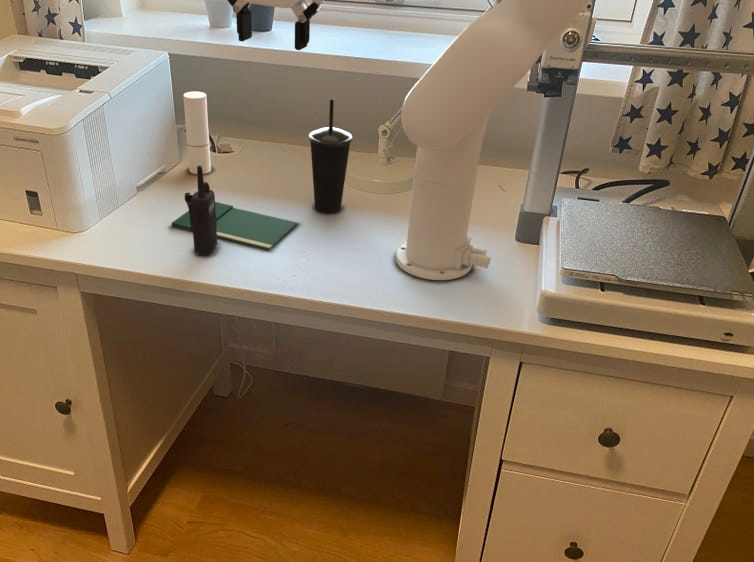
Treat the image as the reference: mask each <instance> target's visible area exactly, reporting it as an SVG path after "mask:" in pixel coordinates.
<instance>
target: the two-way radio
mask: <svg viewBox="0 0 754 562" xmlns="http://www.w3.org/2000/svg"><path fill="white" fill-rule="evenodd" d="M196 175H197V178H196V179H197V191H196V192H194V193H193V194H191V192H185V193H184V201H185V203H186V205H187V208H188V211H189V214H190V224H191V230H192V231H193V232H192V236H193V237H192V238H193V239H192V240H193V249H194V250H193V251H194V252H195V253H196V254H197V255H201V256H209V255H211V254H212V253H213V252H214V251H215V249H216V247H217V245H218V238H217V222H216V210H215V202H216V195H215V192H214V190H212V189H211V188H210V183H209V182H207V181H204V174H203V171H202V166H198V167H197V174H196Z"/></svg>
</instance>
